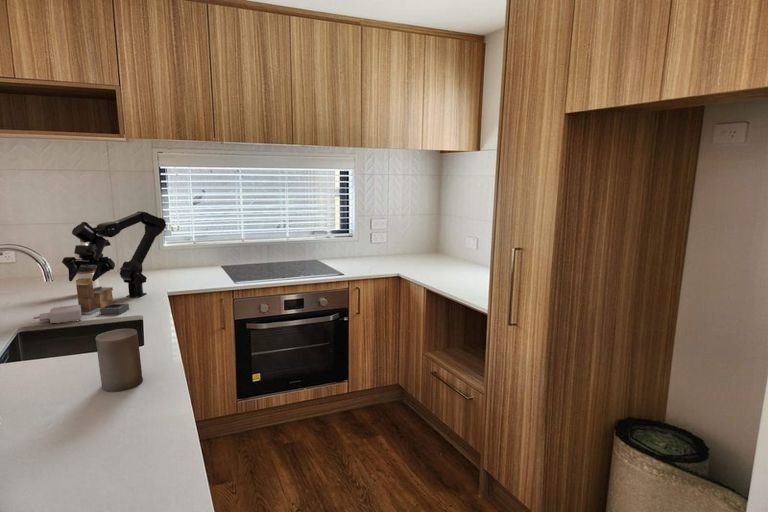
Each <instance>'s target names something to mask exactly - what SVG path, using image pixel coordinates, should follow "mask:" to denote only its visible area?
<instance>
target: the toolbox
mask: <svg viewBox="0 0 768 512" xmlns="http://www.w3.org/2000/svg"><path fill="white" fill-rule="evenodd" d="M113 290H114V289H113V287H112V286H111V287H103V286H100V285H99V287H96V288H93V292H94V301H95V308H102V307H105V306H107V305H109V304H114V300H113V299H114V298H113Z"/></svg>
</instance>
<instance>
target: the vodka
mask: <svg viewBox="0 0 768 512" xmlns="http://www.w3.org/2000/svg"><path fill="white" fill-rule="evenodd" d="M79 241H80V242H79V245H86V246H88V244H89V243H88V242H86V243H84V242H83V241H81V240H80V239H79ZM74 252H75V248H74V249H73V254H74V257H75V258H76V259H77V260H82V258H80V257H79V255H78V254H75V253H74ZM96 268H97V266H89V265H80V268H79V269H78V270H79V271H78V273H77V274H76V278H77V279H76V280H78V279H81V278H93V275H94V273H95V270H96ZM92 283H93V288H96V287H99V286H100V283H99V278H98V279H96V280H95V281H92Z"/></svg>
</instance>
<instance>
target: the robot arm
mask: <svg viewBox="0 0 768 512" xmlns="http://www.w3.org/2000/svg"><path fill="white" fill-rule="evenodd" d="M138 223H139V224H140V223H141V224H143V225H144V234H143V236H142V238H141V240H140V242H139V244H138V245H137V248H136V250H135V251H134V253H133V255H132V257H131V259H130V260H129V261H124V262H123V263H122V266H121V267H120V269H119V270H120V272H119V276H120V278H121V279H122V280H123V282H124V283H126V284H127V286H128V288H127V289H128V294H127V295H126V296H125V298H141V297H144V296H146V295H148V294H147V292H144V288H143V284H144V283H146V282H147V276H146V275H144V274H143V263H144V262H145V260H146V258H147V255H148V253H149V251H150V250H151V248H152V245H153V243H154V242H155V240H156V237H158V236H159V235H160V234H162V233H163V231H164V230H165V229H166V226H167V221H166V220H165V219H164V218H163V217H158V216H156V215H153V214H151V213H148V212H147V211H144V210H143V211H142V210H141V211H140V210H139V211H136V212H135V213H132V214H130V215H127V216H124V217H122V218H120V219H118V220H114V221H108V222H101V223H98V224H97V225H96V226H95V227H92V226H91V225H90V224H89V223H88V222H86V221H81V223H79V224H78V225H76V226H75V227H74V228H73V229H72V230H71V235H73V236H75V237H76V238H77V239H78V240H79V241H80V240H81V241H83V242H84V243H86V242H87V244H88V246H86V245H80V244H79V245H78V244H77V245H75V248H74V249H75V252H74V251H73V254H74V253H75V254H78V255H79V257H80V258H82V260H77V259H76V258H75V256H65V257H63V259H62V261H61V263H62V264H63V265H64V266H65V267H66V268H67V270H68V281H69V282H72V281H73V280H74V278H75V277H77V275H76V274H77V273H78V271H79V270H78V269H79V268H80V265H89V266H96V267H97V268H96V270H95V273H94V275H93V278H92V281H95V280H96V279H98V280H99V278H100V277H102V276H103V275H104V274H106V273H108V272H110V271H111V270H112V271H113V270H114V269H115V267H116V263H115V262H114V261H113V260H112V258H111V257H110V256H104V254H103V251H104V249H105V248H106V247H109V246H112V244H111V242H110V241H109V239H108V238H114V237H115V236H117V235H118V234H120V233H121V231H122V230H125V229H126V228H127V229H128V228H129V227H131V226H134V225H136V224H138ZM106 238H107V239H106Z"/></svg>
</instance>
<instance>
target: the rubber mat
mask: <svg viewBox="0 0 768 512" xmlns="http://www.w3.org/2000/svg"><path fill="white" fill-rule="evenodd" d="M98 312H100V308H95V310H93V311H91V312H81V313H82V314H92V315H93V313H94V314H95V313H98Z"/></svg>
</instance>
